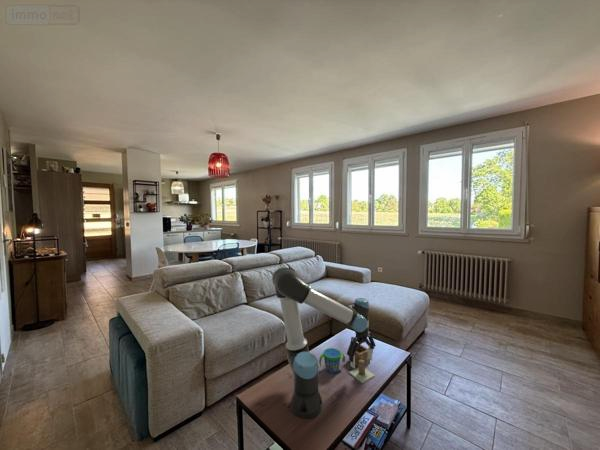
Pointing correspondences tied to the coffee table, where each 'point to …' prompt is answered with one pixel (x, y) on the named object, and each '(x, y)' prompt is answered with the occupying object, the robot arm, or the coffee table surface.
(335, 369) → the snack cup
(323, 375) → the coffee table surface
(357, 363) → the box
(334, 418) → the coffee table surface
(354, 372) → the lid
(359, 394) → the coffee table surface
